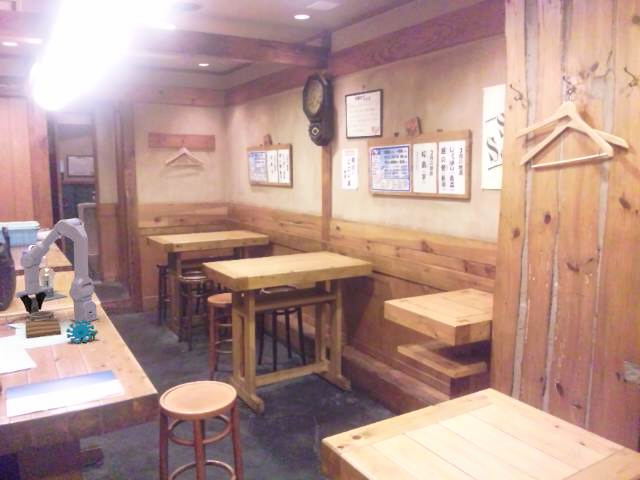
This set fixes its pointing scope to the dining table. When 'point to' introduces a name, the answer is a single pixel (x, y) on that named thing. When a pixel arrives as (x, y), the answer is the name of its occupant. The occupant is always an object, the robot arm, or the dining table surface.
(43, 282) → the cup with straw
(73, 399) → the dining table surface
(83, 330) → the gear
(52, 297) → the shower valve
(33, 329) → the brown piece
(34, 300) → the hinge pin
